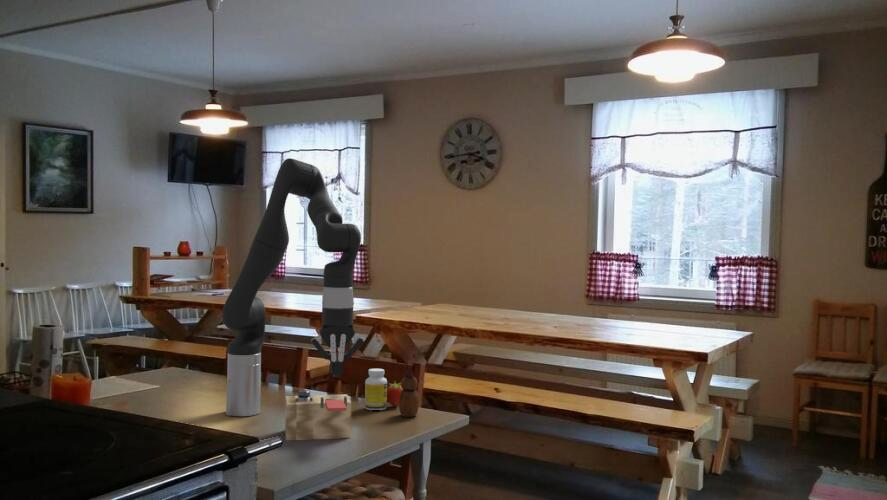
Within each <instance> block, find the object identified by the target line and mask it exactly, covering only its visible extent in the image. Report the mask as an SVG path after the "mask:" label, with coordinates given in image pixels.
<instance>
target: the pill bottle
mask: <svg viewBox="0 0 887 500" xmlns="http://www.w3.org/2000/svg"><path fill="white" fill-rule="evenodd" d="M384 375H385V369H383V368H369V369H368V376H369V377H367V378H366V379H365V382H364V384H365V388H364V389H365V392H364V396H365V398H364V399H365V400H364V408H365V409H366V410H368V411H372V410H380V411H383V410H386V409H387V406H388V402H387V401H388V399H387V388H388V380H387V378H386V377H384Z"/></svg>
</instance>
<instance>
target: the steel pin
mask: <svg viewBox="0 0 887 500" xmlns="http://www.w3.org/2000/svg"><path fill="white" fill-rule="evenodd" d="M310 395H311V390H309V389H301V390H298V391H297V396H298V402H302V401H310Z"/></svg>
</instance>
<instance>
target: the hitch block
mask: <svg viewBox="0 0 887 500" xmlns="http://www.w3.org/2000/svg"><path fill="white" fill-rule="evenodd" d="M326 399H342V400H343V401H344V403H345V405H346V407H347V411H328V410H327V407H326V404H325V400H326ZM351 401H352V400H351V399H350V397H349V395H348V394H344V393H343V394H314V395H311V394H310V401H302V402H298V395H285V406H284V407H285V414H284V415H285V416H284V417H285V418H284V421H285V422H284V423H285V424H284V431H285V432H284V433H285V441H305V440H308V441H309V440H330V439H331V440H332V439H333V440H334V439H351V434H352V433H351V431H352V402H351Z"/></svg>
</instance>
